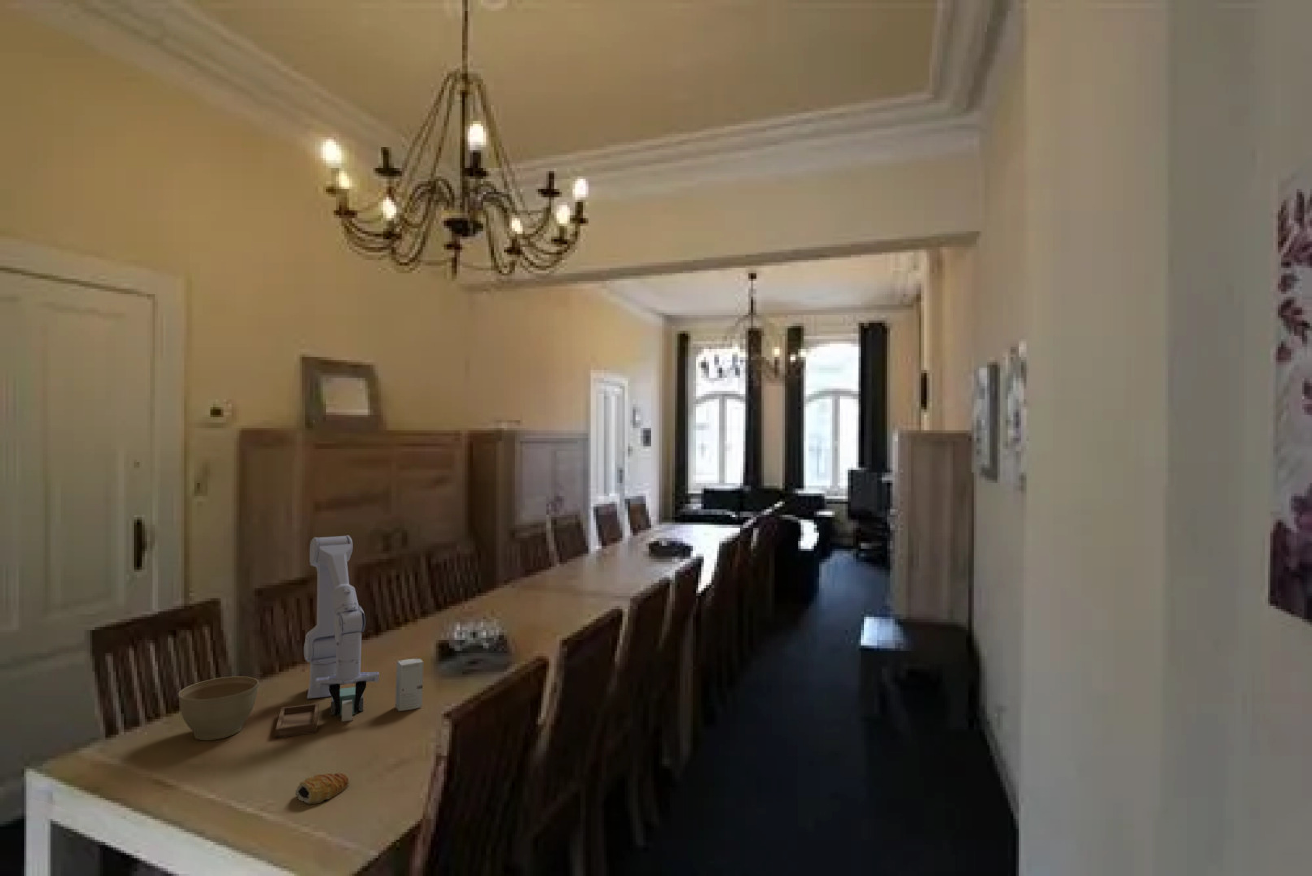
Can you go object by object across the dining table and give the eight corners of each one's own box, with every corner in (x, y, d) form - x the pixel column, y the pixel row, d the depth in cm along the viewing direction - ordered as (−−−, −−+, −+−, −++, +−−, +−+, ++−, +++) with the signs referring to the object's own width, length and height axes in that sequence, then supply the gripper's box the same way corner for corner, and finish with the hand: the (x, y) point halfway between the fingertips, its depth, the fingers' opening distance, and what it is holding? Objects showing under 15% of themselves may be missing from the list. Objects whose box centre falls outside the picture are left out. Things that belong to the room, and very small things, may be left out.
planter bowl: (247, 714, 174) (248, 671, 174) (265, 733, 162) (267, 688, 163) (170, 731, 163) (172, 685, 163) (184, 753, 151) (186, 704, 151)
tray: (281, 715, 174) (281, 707, 174) (318, 710, 177) (319, 703, 177) (275, 737, 160) (275, 729, 160) (316, 732, 164) (316, 724, 164)
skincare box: (398, 712, 177) (400, 665, 177) (394, 706, 181) (395, 660, 181) (423, 707, 181) (424, 661, 181) (418, 702, 184) (419, 657, 185)
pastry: (337, 779, 141) (337, 761, 141) (356, 789, 138) (357, 770, 138) (292, 798, 134) (292, 778, 134) (311, 809, 130) (312, 789, 130)
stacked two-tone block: (338, 707, 179) (339, 688, 179) (355, 705, 181) (355, 686, 181) (338, 721, 170) (338, 701, 170) (355, 719, 172) (356, 699, 172)
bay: (331, 706, 180) (331, 692, 180) (362, 702, 183) (363, 689, 183) (330, 715, 174) (331, 701, 174) (363, 711, 177) (363, 697, 177)
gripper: (315, 666, 166) (314, 722, 166) (379, 660, 172) (378, 714, 172) (317, 658, 173) (315, 712, 172) (379, 652, 179) (377, 704, 178)
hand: (347, 712), depth 173 cm, fingers open, 3 cm apart
